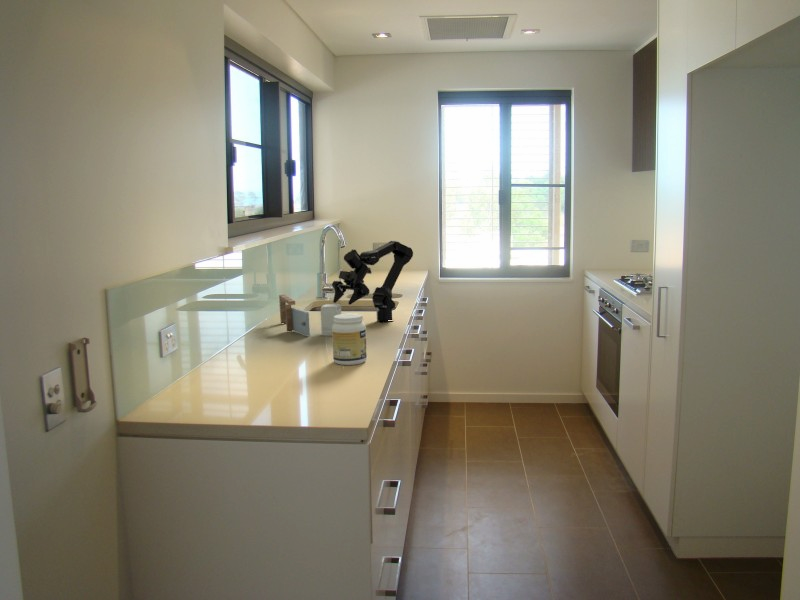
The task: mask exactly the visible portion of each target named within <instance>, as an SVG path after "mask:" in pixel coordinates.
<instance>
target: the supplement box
mask: <svg viewBox="0 0 800 600" xmlns="http://www.w3.org/2000/svg"><path fill="white" fill-rule="evenodd" d="M339 314H342V304H341V303H330V304H329V303H325V304H323V305H322V306H320V323H321V324H320V325H321V327H320V328H321V336H326V337H327V336H331V337H332V326H333V324H334V323H335V322H334V316H335V315H339Z"/></svg>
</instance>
